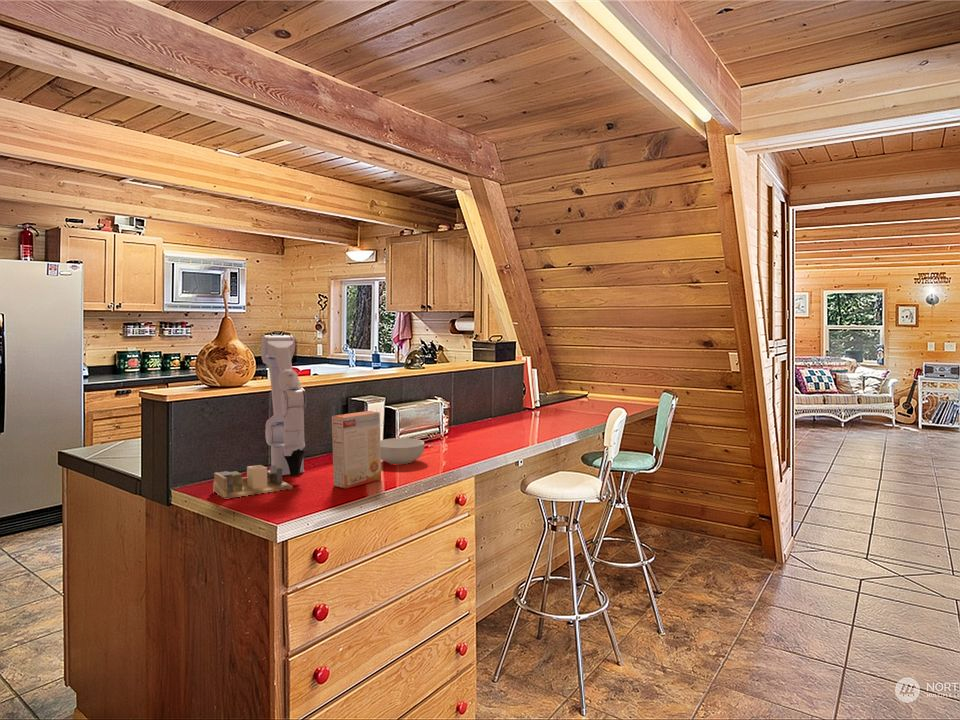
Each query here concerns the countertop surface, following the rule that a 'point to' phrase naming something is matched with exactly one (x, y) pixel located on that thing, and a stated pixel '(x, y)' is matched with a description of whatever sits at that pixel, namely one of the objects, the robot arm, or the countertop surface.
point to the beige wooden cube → (256, 476)
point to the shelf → (242, 485)
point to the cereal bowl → (401, 450)
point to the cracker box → (356, 449)
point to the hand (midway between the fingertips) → (294, 475)
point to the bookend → (276, 474)
